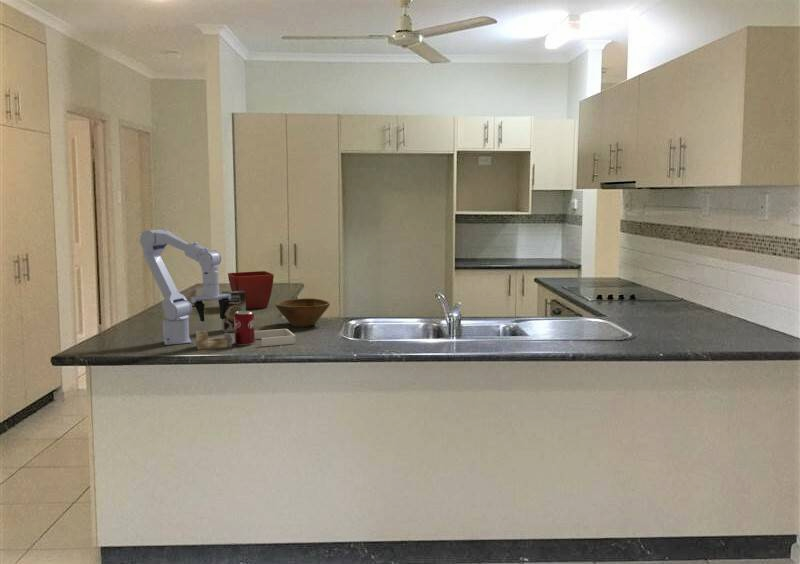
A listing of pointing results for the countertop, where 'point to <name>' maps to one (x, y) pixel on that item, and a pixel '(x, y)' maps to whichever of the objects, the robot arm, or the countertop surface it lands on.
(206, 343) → the tan boxy piece
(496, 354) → the countertop surface
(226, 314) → the coffee box
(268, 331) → the white tray
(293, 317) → the bowl
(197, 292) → the pumice stone
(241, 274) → the plant pot
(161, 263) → the robot arm
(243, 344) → the soda can
